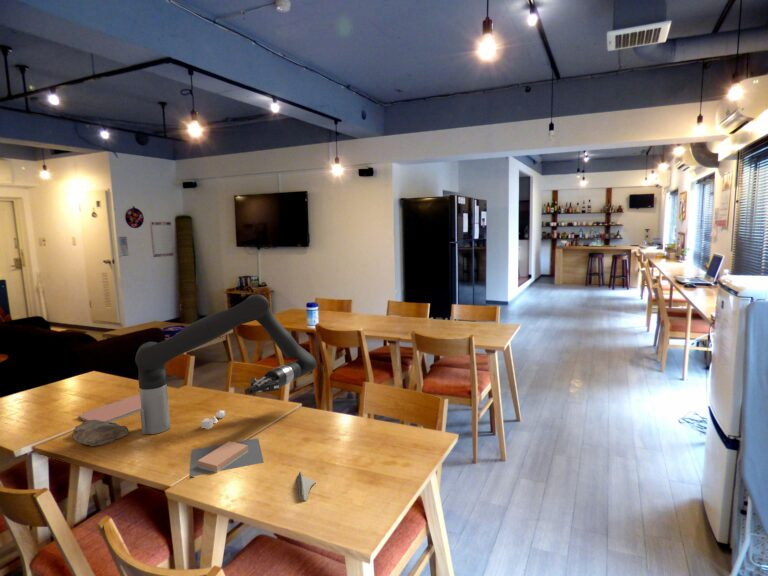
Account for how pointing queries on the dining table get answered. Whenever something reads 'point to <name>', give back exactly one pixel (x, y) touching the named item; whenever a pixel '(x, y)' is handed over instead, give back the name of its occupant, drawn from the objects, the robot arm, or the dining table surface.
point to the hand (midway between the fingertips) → (248, 391)
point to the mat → (247, 459)
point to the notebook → (114, 410)
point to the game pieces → (212, 420)
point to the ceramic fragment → (304, 486)
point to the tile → (222, 456)
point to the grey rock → (98, 432)
